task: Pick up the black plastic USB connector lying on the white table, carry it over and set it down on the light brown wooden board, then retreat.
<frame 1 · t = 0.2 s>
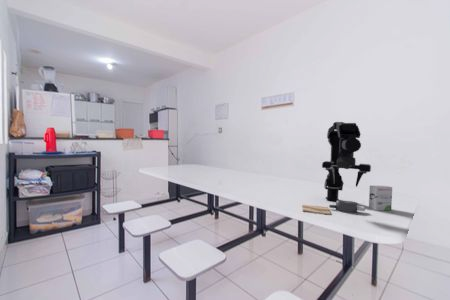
hand: (344, 185, 97), 14 cm above the table, fingers open, 9 cm apart
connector: (346, 211, 103), on the table
light brown wooden board: (315, 209, 104), on the table
ink box: (379, 209, 107), on the table
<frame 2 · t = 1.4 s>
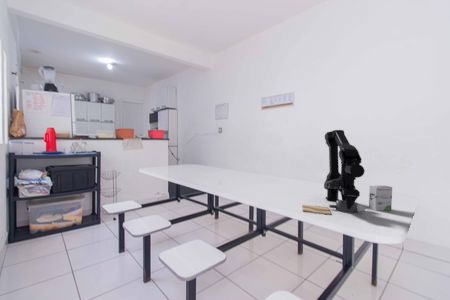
hand: (346, 206, 103), 2 cm above the table, fingers open, 9 cm apart
nothing on the table moved.
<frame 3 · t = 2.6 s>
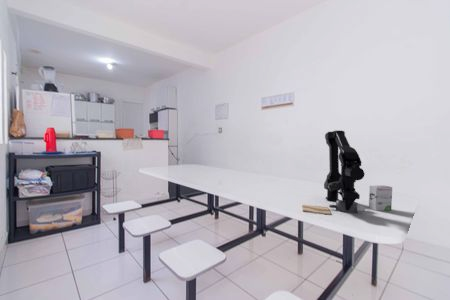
hand: (346, 208, 103), 1 cm above the table, fingers closed on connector, 4 cm apart
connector: (346, 211, 103), on the table, touching gripper
everything else where it was.
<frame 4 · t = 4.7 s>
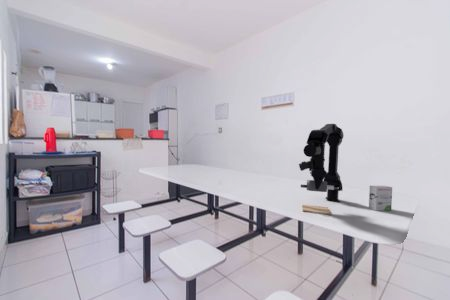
hand: (316, 188, 103), 11 cm above the table, fingers closed on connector, 4 cm apart
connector: (316, 190, 103), point 10 cm above the table, touching gripper
everything else where it was.
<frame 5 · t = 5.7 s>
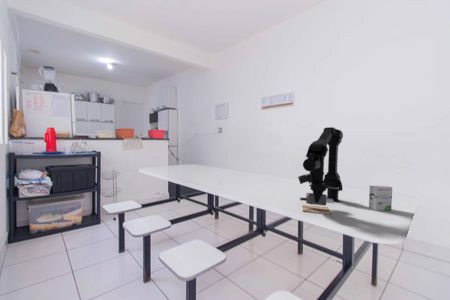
hand: (315, 201, 104), 4 cm above the table, fingers closed on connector, 4 cm apart
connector: (315, 203, 104), point 3 cm above the table, touching gripper
everything else where it was.
when the fingers open (3 cm above the table, at t = 6.7 s): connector drops 1 cm, resting on light brown wooden board.
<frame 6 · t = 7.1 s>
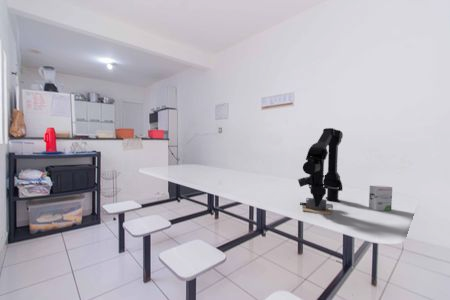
hand: (315, 204, 104), 3 cm above the table, fingers open, 8 cm apart
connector: (315, 208, 104), point 1 cm above the table, touching light brown wooden board
everything else where it was.
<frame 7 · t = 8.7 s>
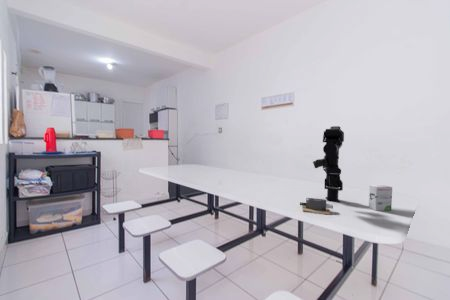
hand: (330, 184, 107), 12 cm above the table, fingers open, 9 cm apart
nothing on the table moved.
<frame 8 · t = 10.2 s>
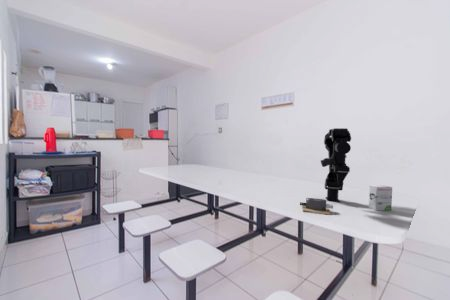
hand: (337, 183, 109), 12 cm above the table, fingers open, 9 cm apart
nothing on the table moved.
at the end: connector inside the target area on the light brown wooden board (0.1 cm from its centre), point 0.6 cm above the light brown wooden board's base; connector tilted 0°; the gripper is holding nothing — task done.
